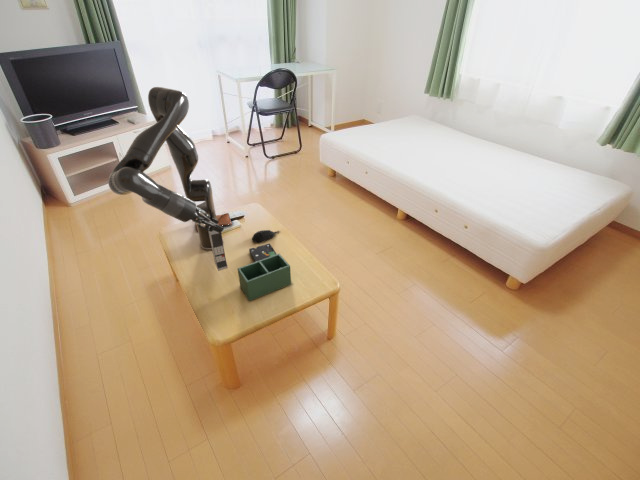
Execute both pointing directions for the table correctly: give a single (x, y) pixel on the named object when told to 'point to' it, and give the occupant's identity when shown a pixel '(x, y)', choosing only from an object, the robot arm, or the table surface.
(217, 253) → the vintage mobile phone
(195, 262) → the table surface
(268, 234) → the gaming mouse
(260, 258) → the disk drive
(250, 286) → the caddy
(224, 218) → the sunglasses case
